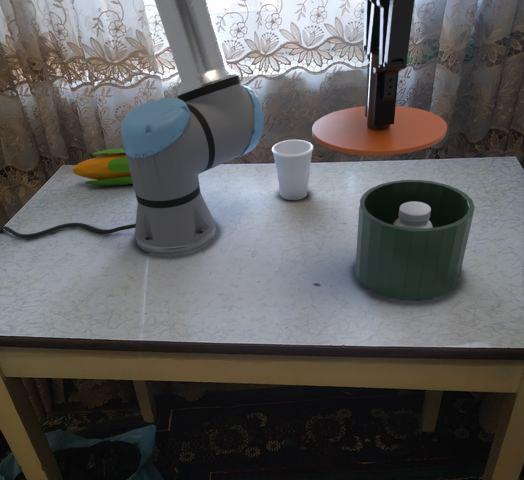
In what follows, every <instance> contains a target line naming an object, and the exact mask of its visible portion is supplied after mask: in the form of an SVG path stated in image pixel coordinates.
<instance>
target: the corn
mask: <svg viewBox="0 0 524 480" xmlns="http://www.w3.org/2000/svg"><path fill="white" fill-rule="evenodd" d="M91 153H92V154H91V155H100V156H96V157H93V158H88V159H86V160H84V161H81V162H78V163H77V164H76V165H75V166H74V167H73V168H72V169H71V171H72V172H73V174H74V175H76V176H78V177H82V178H86V179H89V180H87V181H84V183H85V185H91V186H99V187H102V186H103V187H104V186H105V187H106V186H108V187H109V186H123V185H124V186H125V185H133V182H132V178H131V174H130V170H129V165H128V161H127V157H126V153H125V152H124V149H123V147H120V148H111V149H103V150H99V151H95V152H91ZM101 154H104V155H101Z"/></svg>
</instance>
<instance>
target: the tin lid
mask: <svg viewBox="0 0 524 480" xmlns="http://www.w3.org/2000/svg"><path fill="white" fill-rule="evenodd" d="M379 50H380V49H379ZM379 50H374V51H372V52H371V57H370V62H369V63H370V74H369V91H368V109H367V117H366V116H365V105H363V106H362V105H361V106H355V107H354V106H353V107H349V108H344V109H340V110H337V111H332V112H331V113H328V114H326V115H324V116H321V117H320V118H318V119H317V120H316V121H315V122H314V124H313V125H312V129H311V130H312V137H313V139H314V140H315V141H316V142H317V143H318V144H319V145H321V146H323V147H325V148H328V149H330V150H332V151H336V152H340V153H346V154H350V155H360V156H394V155H395V156H396V155H403V154H410V153H415V152H418V151H422V150H425V149H428V148H431V147H433V146H435V145H437V144H438V143H440V142H441V141H442V140H443V139H445V137H446V136H447V132H448V131H447V130H448V124H447V122H446V120H444V118H442V117H441V116H440V115H438V114H435V113H434V112H431V111H428V110H426V109H425V110H424V109H422V108H421V109H420V108H417V107H411V106H405V105H396V107H395V118H394V124H391V125H382V126H373V125H372V123H373V107H374V92H375V77H376V74H374V72H373V68H376V67H379Z"/></svg>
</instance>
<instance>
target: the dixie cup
mask: <svg viewBox="0 0 524 480" xmlns="http://www.w3.org/2000/svg"><path fill="white" fill-rule="evenodd" d="M313 150H314V144H312V143H311V142H310V141H307V140H303V139H287V140H283V141H278V142H276V143H275V144H274V145H273V146H272V148H271V152H272V153H273V159H274V164H275V170H276V177H277V182H278V188H279V189H278V190H279V194H280V197H281V198H282V199H284V200H287V201H300V200H302V199H304V198H305V197H307V195H308V190H309V182H310V173H311V164H312V156H313Z"/></svg>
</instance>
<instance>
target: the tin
mask: <svg viewBox="0 0 524 480" xmlns="http://www.w3.org/2000/svg"><path fill="white" fill-rule="evenodd" d="M406 202H422V203H425V204H427V205H429V206H430V208H431V213H430V218H429V221H430V222H431V223H432V226H433V228H407V227H400V226H396V225H393V224H394V222H395V221H396V220H397V219H398V218H399V209H400V206H401V205H402V204H404V203H406ZM475 208H476V207H475V204H474V201H473V199H472V198H471V197H470V196H469V195H468V194H467V193H466V192H464V191H462V190H460V189H458V188H457V187H454V186H451V185H449V184H445V183H442V182H437V181H432V180H423V179H402V180H393V181H388V182H384V183H381V184H378V185H374V186H373V187H371V188H369V189H368V190H367V191H365V192H364V193H363V194H362V195H361V197H360V198H359V202H358V217H357V218H358V220H357V235H356V236H357V237H356V252H355V264H354V265H355V267H354V268H355V269H354V273H355V276H356V277H357V280H358V281H359V283H360V284H361V285H362V286H363V287H364V288H366V290H369V291H371V292H372V293H374V294H376V295H379V296H381V297H384V298H387V299H393V300H397V301H403V302H407V301H408V302H419V301H427V300H428V301H429V300H434V299H437V298H439V297H443V296H445V295H446V294H448V293H450V292H451V291H452V292H453V291H454V290H455V289H456V288H457V286H458V284H459V281H460V277H461V273H462V268H463V262H464V258H465V253H466V249H467V244H468V240H469V237H470V231H471V226H472V222H473V217H474V214H475Z"/></svg>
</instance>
